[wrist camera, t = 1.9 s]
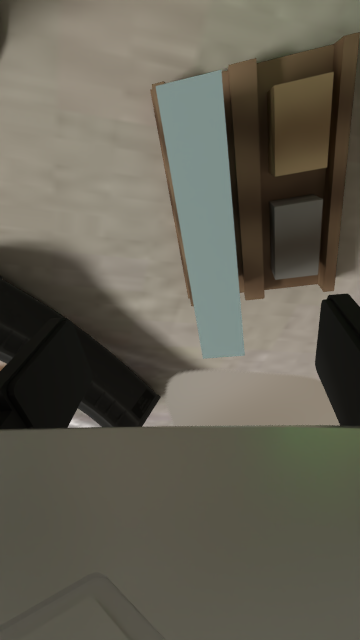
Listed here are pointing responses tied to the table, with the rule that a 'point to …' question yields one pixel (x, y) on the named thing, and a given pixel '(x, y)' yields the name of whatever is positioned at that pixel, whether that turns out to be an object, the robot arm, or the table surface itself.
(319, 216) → the offcut
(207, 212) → the panel
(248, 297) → the rack
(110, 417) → the magazine
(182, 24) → the table surface
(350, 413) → the robot arm
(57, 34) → the table surface
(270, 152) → the offcut
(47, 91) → the table surface
